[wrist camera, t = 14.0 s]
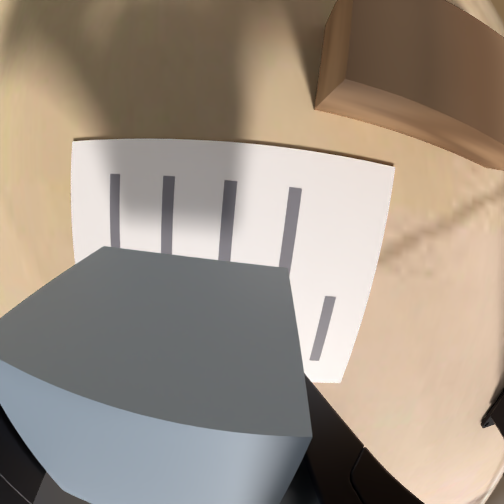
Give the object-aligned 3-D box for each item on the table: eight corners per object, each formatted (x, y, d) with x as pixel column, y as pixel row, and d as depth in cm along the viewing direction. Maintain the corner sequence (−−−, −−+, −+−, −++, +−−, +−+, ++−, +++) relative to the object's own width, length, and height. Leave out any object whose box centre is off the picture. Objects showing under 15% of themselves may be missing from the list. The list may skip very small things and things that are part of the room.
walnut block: (490, 94, 9) (558, 86, 4) (484, 167, 10) (557, 182, 6) (324, 26, 9) (355, -37, 4) (313, 109, 10) (345, 78, 6)
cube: (287, 268, 7) (312, 437, 3) (263, 405, 9) (257, 540, 4) (103, 245, 7) (-29, 342, 3) (122, 380, 9) (63, 490, 4)
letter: (394, 166, 11) (395, 167, 11) (340, 381, 14) (340, 383, 14) (73, 141, 11) (72, 141, 11) (90, 345, 14) (89, 346, 14)
